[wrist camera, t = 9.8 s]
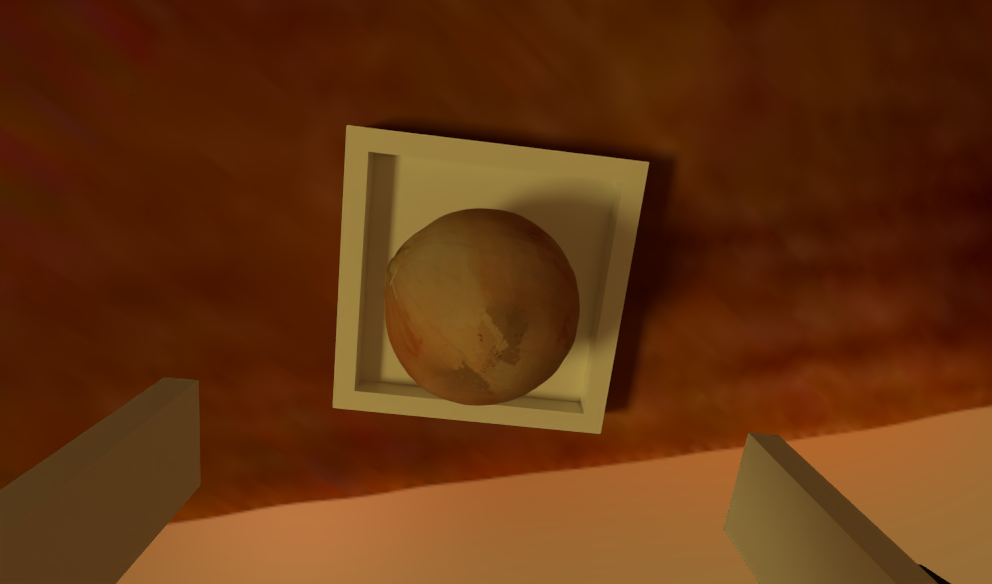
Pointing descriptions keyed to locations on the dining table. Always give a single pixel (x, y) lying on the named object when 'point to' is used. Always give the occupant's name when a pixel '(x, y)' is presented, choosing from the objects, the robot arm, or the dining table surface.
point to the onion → (481, 306)
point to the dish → (493, 185)
